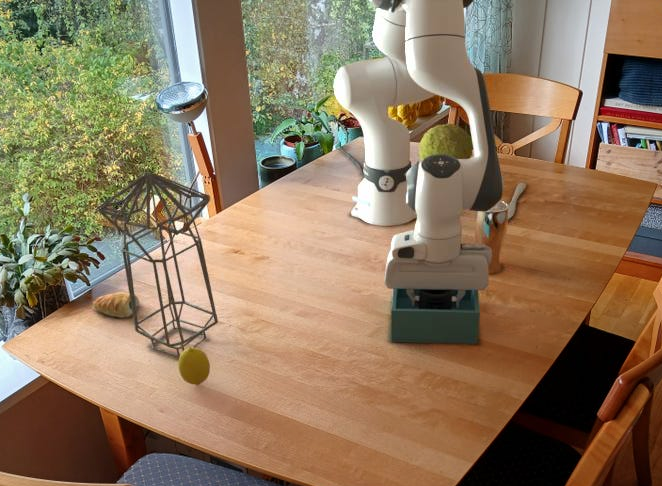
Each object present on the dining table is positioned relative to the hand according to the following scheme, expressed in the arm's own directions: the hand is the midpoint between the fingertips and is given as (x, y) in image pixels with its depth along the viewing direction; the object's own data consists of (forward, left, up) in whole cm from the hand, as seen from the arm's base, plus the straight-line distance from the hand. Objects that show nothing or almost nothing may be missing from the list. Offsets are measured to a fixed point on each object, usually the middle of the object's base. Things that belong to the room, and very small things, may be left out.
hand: (434, 306), depth 148 cm
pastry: (-1, -67, -4) cm, 67 cm away
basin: (0, 0, -3) cm, 3 cm away
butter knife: (-59, +21, -3) cm, 63 cm away
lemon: (+24, -43, -4) cm, 49 cm away
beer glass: (-23, +12, -4) cm, 26 cm away
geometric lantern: (+11, -50, -4) cm, 51 cm away
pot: (0, 0, -3) cm, 3 cm away
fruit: (-81, +3, -4) cm, 81 cm away
